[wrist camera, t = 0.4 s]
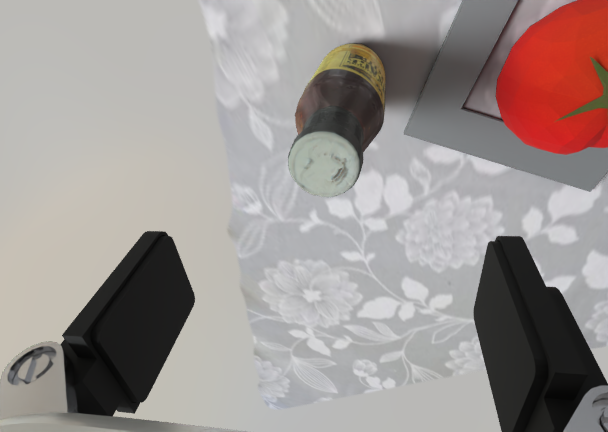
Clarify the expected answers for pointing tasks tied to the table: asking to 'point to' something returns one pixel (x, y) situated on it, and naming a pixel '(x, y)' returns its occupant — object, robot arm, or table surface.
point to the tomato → (559, 80)
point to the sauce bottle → (337, 120)
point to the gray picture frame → (478, 127)
